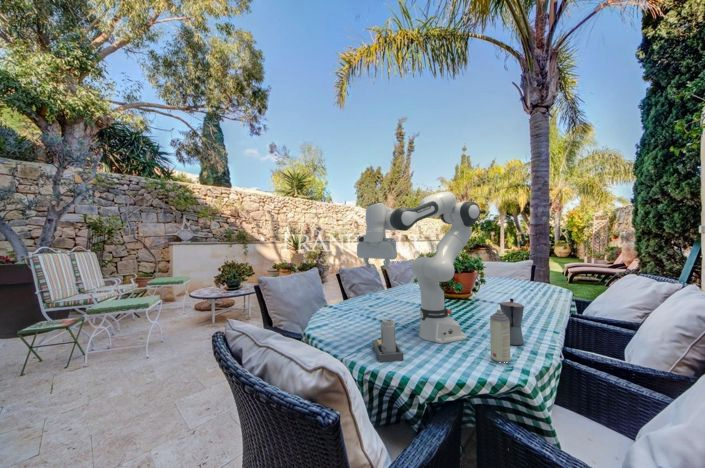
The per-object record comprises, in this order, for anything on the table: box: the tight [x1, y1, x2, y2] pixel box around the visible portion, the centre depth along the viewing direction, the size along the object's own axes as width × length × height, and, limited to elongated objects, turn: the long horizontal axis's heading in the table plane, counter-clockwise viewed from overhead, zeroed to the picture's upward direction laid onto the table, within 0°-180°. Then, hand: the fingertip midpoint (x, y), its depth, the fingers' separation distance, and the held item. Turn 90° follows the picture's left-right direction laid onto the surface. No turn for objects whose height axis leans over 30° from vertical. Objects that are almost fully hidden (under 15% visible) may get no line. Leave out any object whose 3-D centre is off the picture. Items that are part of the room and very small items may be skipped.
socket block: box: [371, 339, 404, 363], centre depth 118 cm, size 10×15×3 cm, turn 7°
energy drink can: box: [380, 318, 397, 354], centre depth 115 cm, size 6×6×15 cm
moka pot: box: [499, 297, 525, 346], centre depth 125 cm, size 10×15×20 cm, turn 155°
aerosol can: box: [489, 308, 511, 364], centre depth 109 cm, size 7×7×20 cm
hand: (376, 268), depth 124 cm, fingers open, 8 cm apart
